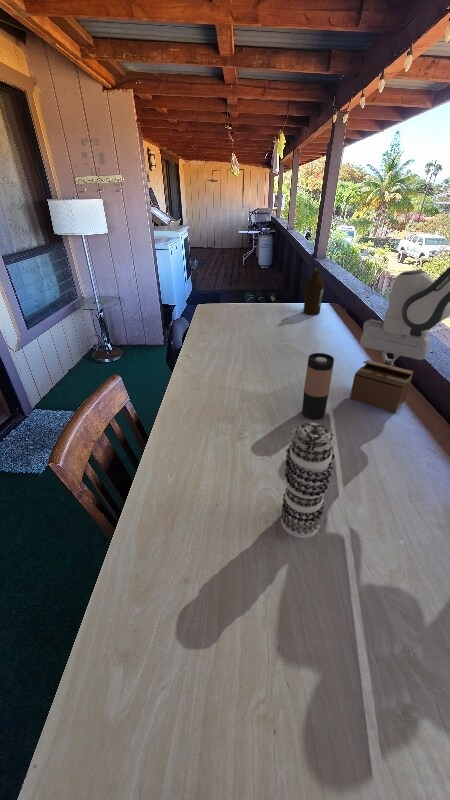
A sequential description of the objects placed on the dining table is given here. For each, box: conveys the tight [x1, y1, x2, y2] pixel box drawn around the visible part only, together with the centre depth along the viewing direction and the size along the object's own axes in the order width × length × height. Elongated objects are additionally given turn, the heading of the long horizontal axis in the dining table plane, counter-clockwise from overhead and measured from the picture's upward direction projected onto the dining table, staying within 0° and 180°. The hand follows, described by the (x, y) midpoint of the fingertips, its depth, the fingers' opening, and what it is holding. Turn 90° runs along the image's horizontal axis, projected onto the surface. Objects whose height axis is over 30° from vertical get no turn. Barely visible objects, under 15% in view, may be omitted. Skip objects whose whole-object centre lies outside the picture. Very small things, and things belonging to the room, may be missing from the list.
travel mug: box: [301, 352, 335, 421], centre depth 109 cm, size 8×8×20 cm
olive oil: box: [303, 267, 325, 316], centre depth 202 cm, size 11×11×25 cm
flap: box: [362, 359, 414, 374], centre depth 117 cm, size 15×6×1 cm, turn 52°
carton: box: [349, 363, 414, 414], centre depth 118 cm, size 15×13×11 cm
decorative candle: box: [280, 422, 337, 539], centre depth 71 cm, size 9×9×25 cm
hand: (387, 364), depth 117 cm, fingers closed
